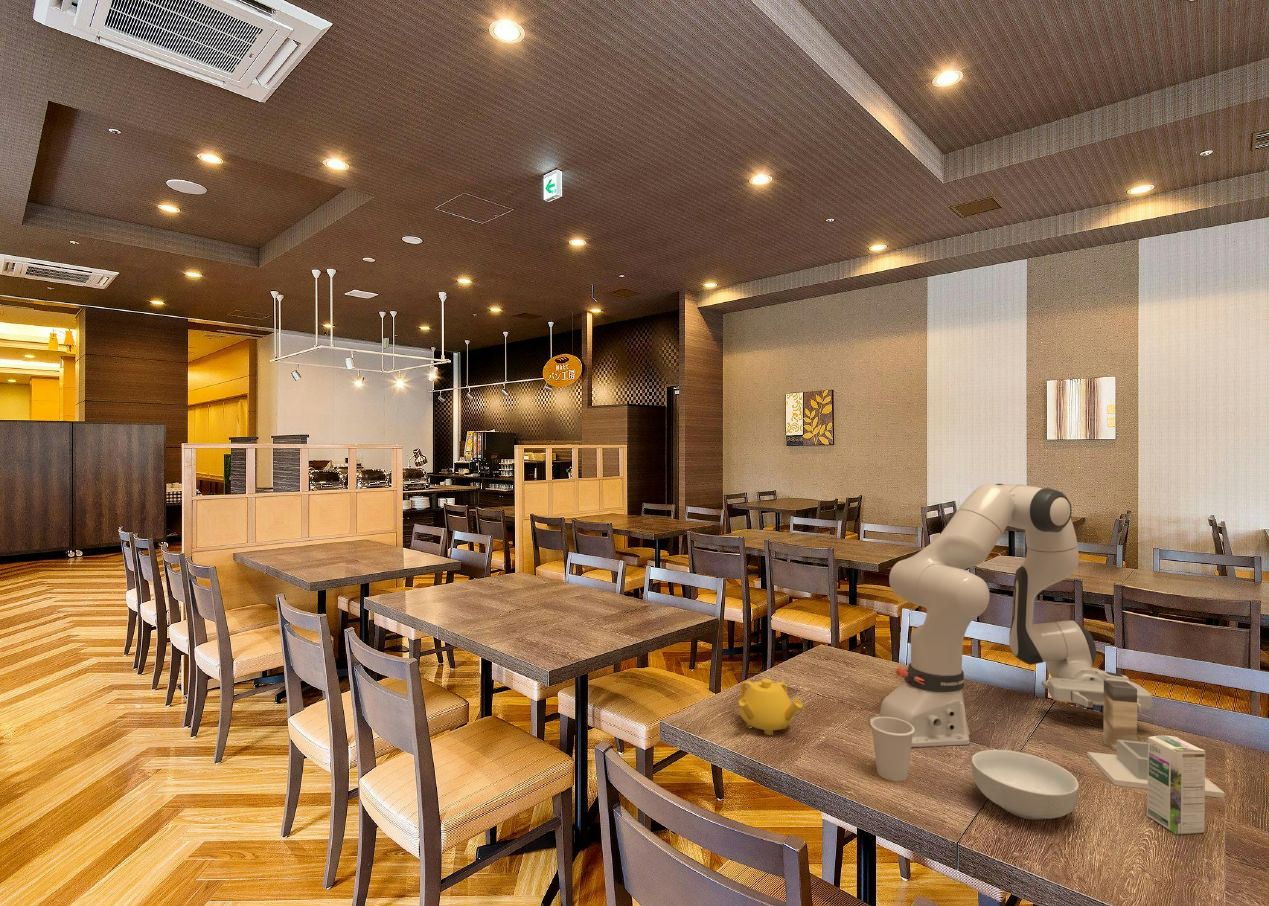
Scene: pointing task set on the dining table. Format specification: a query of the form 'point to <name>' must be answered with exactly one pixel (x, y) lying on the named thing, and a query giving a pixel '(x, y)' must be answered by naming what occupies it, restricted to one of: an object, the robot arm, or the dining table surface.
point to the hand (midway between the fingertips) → (1113, 706)
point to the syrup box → (1176, 784)
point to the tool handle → (1119, 712)
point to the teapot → (767, 705)
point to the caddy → (1134, 767)
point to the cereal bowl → (1025, 784)
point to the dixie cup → (892, 747)
